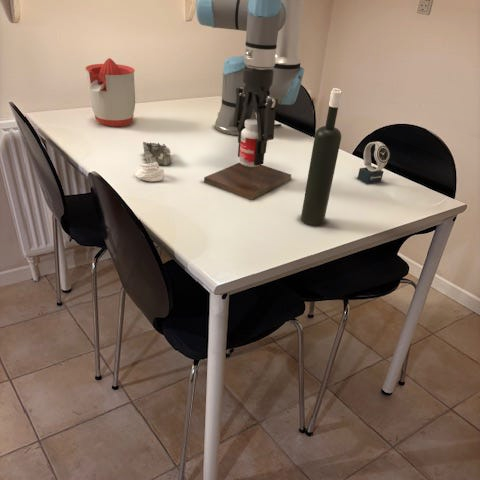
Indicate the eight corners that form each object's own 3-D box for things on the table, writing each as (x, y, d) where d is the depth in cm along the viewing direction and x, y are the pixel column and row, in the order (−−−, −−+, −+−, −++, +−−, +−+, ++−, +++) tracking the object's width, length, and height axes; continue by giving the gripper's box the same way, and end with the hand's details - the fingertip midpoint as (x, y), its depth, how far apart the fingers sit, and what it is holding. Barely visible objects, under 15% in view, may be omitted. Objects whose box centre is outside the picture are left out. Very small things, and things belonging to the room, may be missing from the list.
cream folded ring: (138, 186, 128) (136, 169, 124) (132, 174, 132) (130, 158, 129) (167, 182, 130) (166, 165, 127) (160, 170, 134) (159, 154, 131)
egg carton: (171, 166, 139) (171, 152, 136) (145, 166, 137) (144, 152, 135) (167, 153, 147) (167, 139, 144) (142, 153, 145) (142, 139, 143)
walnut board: (245, 164, 144) (246, 159, 143) (290, 179, 138) (291, 174, 137) (203, 182, 131) (204, 177, 130) (251, 200, 124) (252, 194, 123)
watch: (371, 186, 138) (380, 148, 131) (353, 176, 144) (362, 139, 137) (385, 184, 141) (396, 146, 134) (367, 174, 146) (376, 137, 139)
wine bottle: (311, 213, 121) (335, 84, 102) (328, 222, 118) (356, 90, 99) (295, 218, 118) (317, 86, 99) (313, 228, 114) (338, 93, 96)
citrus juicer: (78, 124, 162) (70, 58, 149) (108, 113, 175) (103, 51, 162) (118, 133, 158) (112, 66, 145) (145, 121, 170) (143, 58, 158)
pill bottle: (234, 162, 131) (237, 120, 124) (248, 157, 135) (252, 116, 128) (251, 169, 128) (255, 126, 121) (265, 164, 132) (270, 122, 125)
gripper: (223, 59, 120) (218, 151, 134) (274, 76, 109) (263, 174, 123) (245, 58, 124) (239, 147, 138) (297, 74, 113) (284, 169, 127)
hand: (250, 160), depth 131 cm, fingers closed on pill bottle, 6 cm apart
